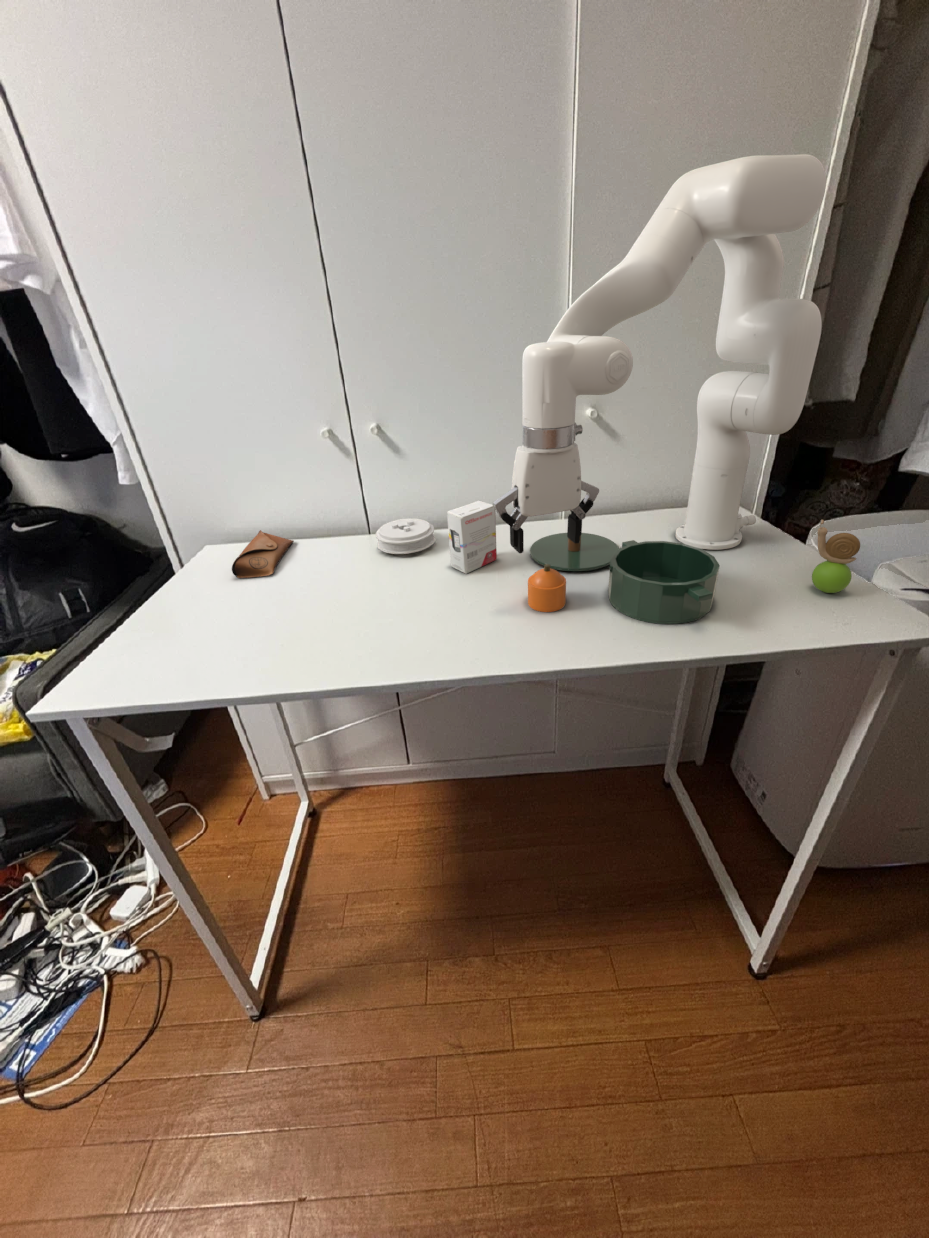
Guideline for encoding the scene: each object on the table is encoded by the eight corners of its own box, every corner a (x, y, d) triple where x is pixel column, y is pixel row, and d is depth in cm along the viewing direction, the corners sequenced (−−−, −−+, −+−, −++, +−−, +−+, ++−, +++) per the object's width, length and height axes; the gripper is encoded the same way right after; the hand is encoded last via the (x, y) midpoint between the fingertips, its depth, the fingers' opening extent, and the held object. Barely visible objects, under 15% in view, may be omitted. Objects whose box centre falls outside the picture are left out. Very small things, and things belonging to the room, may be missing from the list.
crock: (664, 564, 103) (668, 529, 100) (745, 620, 85) (755, 580, 81) (584, 580, 100) (586, 545, 96) (651, 641, 82) (657, 601, 78)
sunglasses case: (274, 573, 110) (250, 549, 107) (250, 591, 112) (225, 567, 109) (295, 539, 126) (274, 517, 123) (273, 555, 128) (252, 534, 125)
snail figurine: (802, 580, 95) (821, 514, 88) (846, 587, 92) (868, 519, 85) (800, 593, 91) (819, 526, 85) (845, 601, 88) (869, 532, 82)
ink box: (482, 553, 113) (479, 499, 107) (498, 561, 110) (496, 504, 104) (449, 567, 109) (444, 510, 103) (465, 575, 105) (461, 517, 99)
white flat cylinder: (440, 534, 124) (438, 513, 121) (429, 558, 113) (426, 535, 110) (386, 535, 126) (383, 514, 123) (370, 558, 115) (367, 536, 113)
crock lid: (592, 532, 119) (594, 505, 116) (636, 564, 104) (639, 533, 101) (517, 546, 115) (517, 518, 112) (551, 580, 101) (551, 550, 98)
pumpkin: (556, 591, 97) (556, 554, 94) (571, 607, 92) (573, 569, 88) (522, 598, 96) (522, 561, 92) (536, 615, 91) (536, 576, 87)
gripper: (590, 425, 84) (583, 529, 93) (484, 438, 81) (488, 545, 90) (614, 435, 78) (605, 545, 87) (500, 449, 75) (503, 563, 83)
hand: (545, 545), depth 88 cm, fingers open, 9 cm apart
